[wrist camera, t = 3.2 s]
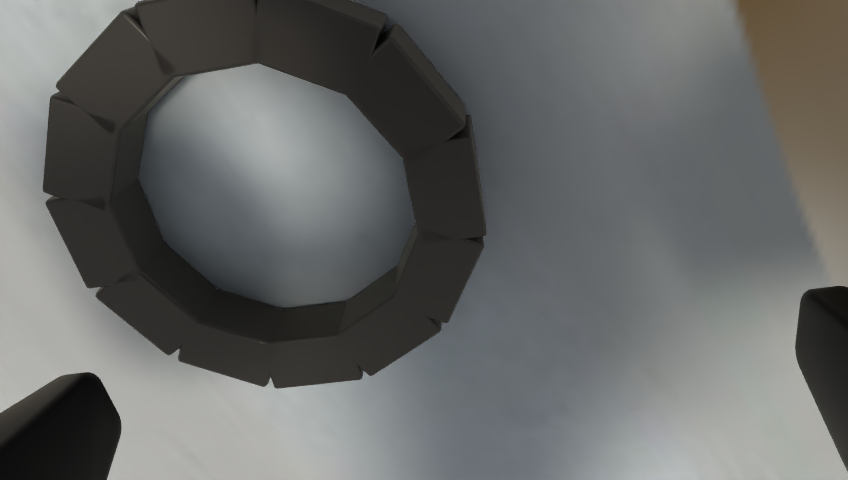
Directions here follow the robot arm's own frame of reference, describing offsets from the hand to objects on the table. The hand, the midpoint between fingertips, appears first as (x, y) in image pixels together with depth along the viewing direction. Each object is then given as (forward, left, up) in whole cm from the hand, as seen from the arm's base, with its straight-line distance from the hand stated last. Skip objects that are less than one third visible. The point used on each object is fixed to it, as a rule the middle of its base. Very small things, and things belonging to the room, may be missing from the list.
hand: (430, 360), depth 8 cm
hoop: (+4, 0, -7) cm, 8 cm away
